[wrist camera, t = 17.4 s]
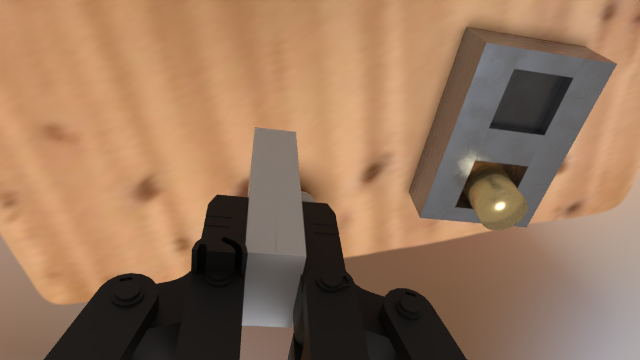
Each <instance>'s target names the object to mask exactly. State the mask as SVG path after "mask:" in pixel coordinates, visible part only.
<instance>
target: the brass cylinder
mask: <svg viewBox="0 0 640 360" xmlns="http://www.w3.org/2000/svg"><path fill="white" fill-rule="evenodd" d="M463 192H464V194H465V195H466V197H467V199H468V200H469V202H470V204H471V206H472V207H473V209H474V211H475V212H476V214H477V216H478V218H479V219H480V221H481V223H482V224H483V226H485V227H486V228H488V229H490V230H504V229H508V228H510V227H512V226H514V225H516V224H517V223H518V222H520V221H521V220H522V219H523V217H524V216H525V214H526V212H527V208H528V204H527V201H526V199H525V198H524V197H523V195H522V194H521V193H520V191H519V190H518V189H517V187H516V186H515V185H514V184H513V182H512V181H511V180H510V178H509V177H508V176H507V174H506V173H505V172H504V170H503V169H502V168H501V166H500V165H499V164H498V163H494V162H485V161H477V160H475V161H474V164H473V166H472V168H471V171H470V173H469V176H468V178H467V180H466V183H465V185H464V187H463Z"/></svg>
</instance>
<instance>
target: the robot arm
mask: <svg viewBox="0 0 640 360" xmlns="http://www.w3.org/2000/svg"><path fill="white" fill-rule="evenodd" d="M292 321H293V323H294V333H293V338H292V342H291V347H290V351H289V356H288V360H467V359H466V358H465V356H464V354H463V353H462V351H461V350H460V348H459V347H458V346H457V344H456V342H455V341H454V339H453V338H452V336H451V334H450V333H449V331H448V330H447V328H446V327H445V325H444V324H443V322H442V321H441V319H440V317H439V316H438V315H437V313H436V311H435V310H434V308H433V307H432V305H431V304H430V303H429V301H428V300H427V299H426V298H425V297H424V296H422V295H420V294H419V293H417V292H415V291H413V290H410V289H406V288H404V289H403V288H397V289H394V290H391V291H390V292H389V293H388V294H387V295H386V296H385V297H384V296H380V295H377V294H375V293H372V292H369V291H366V290H364V289H362V288H360V287H359V286H357V285H356V284H355V283H354V281H353V279H352V277H351V276H350V275H349V274H348V273H347V272H346V270H345V264H344V259H343V253H342V248H341V242H340V237H339V231H338V227H337V220H336V215H335V213H334V212H333V210H332V209H331V208H330V206H329V205H328V204H326V203H315V202H304V201H302V199H301V187H300V176H299V164H298V152H297V140H296V132H291V131H283V130H274V129H266V128H257V127H255V132H254V141H253V151H252V160H251V169H250V179H249V188H248V197H238V196H227V195H216V196H215V197H214V198H213V200H212V201H211V202H210V203H209V204H208V208H207V213H206V218H205V223H204V228H203V233H202V238H201V239H200V240H198V241H197V242H196V243H195V245H194V247H193V249H192V263H191V271H190V272H189V273H187V274H186V275H185V276H183V277H181V278H179V279H176V280H172V281H169V282H164V283H158V284H156V283H155V282H154V281H153V280H152V279H151V278H149V277H147V276H145V275H142V274H134V273H129V274H123V275H118V276H116V277H114V278H112V279H110V280H108V281H107V282H106V283H104V284H103V285H102V286H101V287H100V288H99V289H98V291H97V292H96V293H95V295H94V296H93V297H92V298H91V300H90V301H89V302H88V304H87V305H86V306H85V307H84V309H83V310H82V311H81V313H80V314H79V315H78V316H77V318H76V319H75V320H74V322H73V323H72V324H71V326H70V327H69V328H68V329H67V330H66V332H65V333H64V334H63V336H62V337H61V338H60V339H59V341H58V342H57V344H56V345H55V346H54V347H53V348H52V350H51V351H50V352H49V354H48V355H47V356H46V357H45V359H44V360H239V359H240V345H241V344H240V343H241V330H242V325H245V326H268V327H291V326H292Z"/></svg>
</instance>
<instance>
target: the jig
mask: <svg viewBox="0 0 640 360" xmlns="http://www.w3.org/2000/svg"><path fill="white" fill-rule="evenodd" d="M616 65H617V64H616V63H614V62H612V61H611V60H609V59H607V58H605V57H603V56H601V55H600V54H598V53H596V52H594V51H592V50H590V49H588V48H587V47H581V46H576V45H570V44H564V43H558V42H552V41H546V40H540V39H534V38H528V37H522V36H516V35H510V34H504V33H498V32H492V31H486V30H480V29H474V28H468V27H466V30H465V33H464V36H463V39H462V41H461V44H460V47H459V50H458V53H457V56H456V59H455V61H454V64H453V67H452V70H451V73H450V76H449V79H448V82H447V84H446V87H445V90H444V93H443V96H442V99H441V102H440V105H439V107H438V110H437V113H436V116H435V119H434V122H433V125H432V127H431V130H430V133H429V136H428V139H427V142H426V145H425V148H424V150H423V153H422V156H421V159H420V162H419V165H418V168H417V170H416V173H415V176H414V179H413V182H412V185H411V188H410V191H409V193H410V196H411V198H412V200H413V203H414V205H415V207H416V210H417V212H418V214H419V217H420V218H428V219H439V220H450V221H462V222H473V223H481V221H480V219H479V218H478V216H477V214H476V212H475V211H474V209H473V207H472V206H471V204H470V202H469V200H468V199H467V197H466V195H465V194H464V192H463V187H464V185H465V183H466V180H467V178H468V176H469V173H470V171H471V168H472V166H473V164H474V161H475V160H477V161H485V162H494V163H499V165H500V166H501V168H502V169H503V170H504V172H505V173H506V174H507V176H508V177H509V178H510V180H511V181H512V182H513V184H514V185H515V186H516V187H517V189H518V190H519V191H520V193H521V194H522V195H523V197H524V198H525V199H526V201H527V204H528V208H527V212H526V214H525V216H524V217H523V219H522V220H521V221H520V222H518V223H517V224H516V225H514V226H518V227H527V225H528V224H529V222H530V220H531V218H532V216H533V215H534V213H535V211H536V209H537V207H538V206H539V204H540V202H541V200H542V198H543V197H544V195H545V193H546V191H547V189H548V188H549V186H550V184H551V182H552V180H553V179H554V177H555V175H556V173H557V171H558V170H559V168H560V166H561V164H562V162H563V160H564V159H565V157H566V155H567V153H568V151H569V150H570V148H571V146H572V144H573V142H574V141H575V139H576V137H577V135H578V133H579V132H580V130H581V128H582V126H583V124H584V123H585V121H586V119H587V117H588V115H589V114H590V112H591V110H592V108H593V106H594V105H595V103H596V101H597V99H598V97H599V95H600V94H601V92H602V90H603V88H604V86H605V85H606V83H607V81H608V79H609V77H610V76H611V74H612V72H613V70H614V68H615V67H616Z"/></svg>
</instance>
